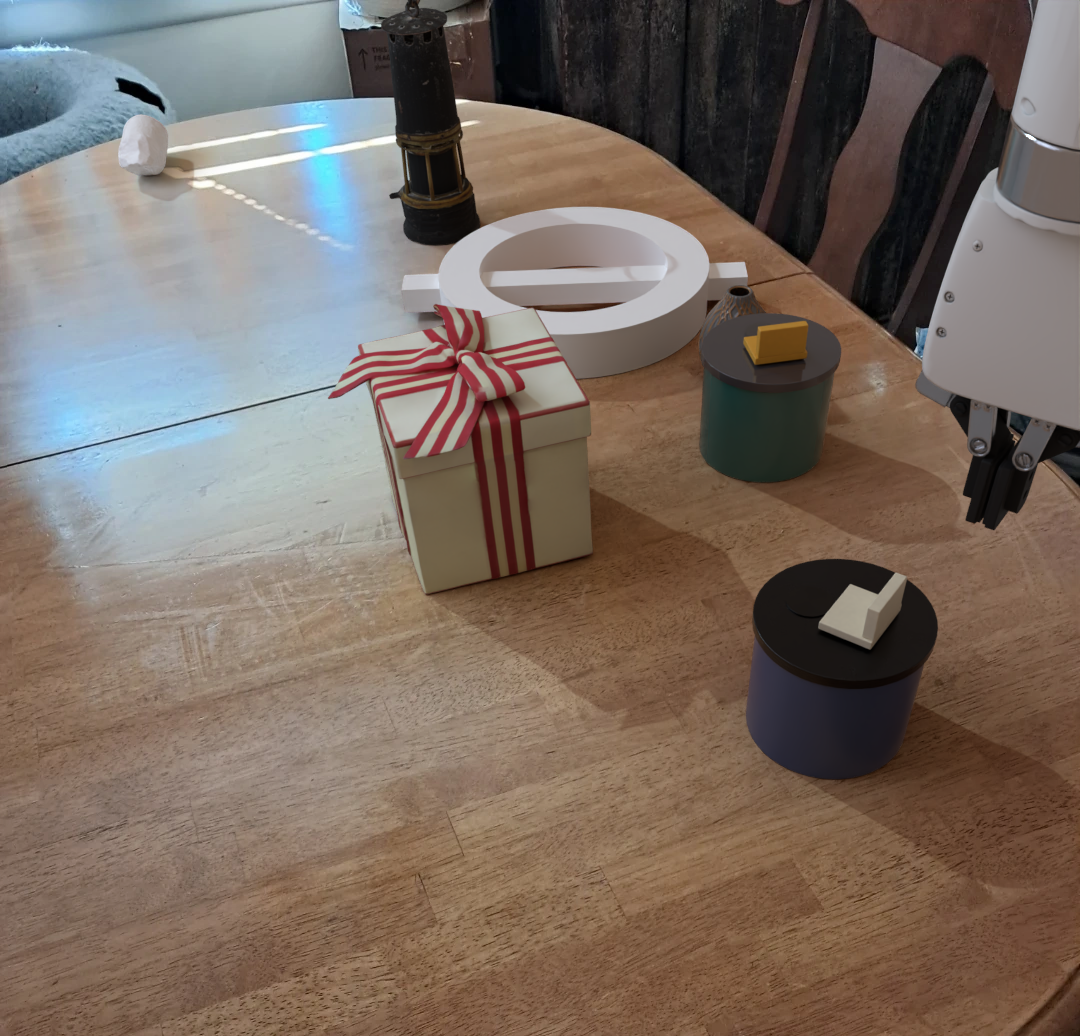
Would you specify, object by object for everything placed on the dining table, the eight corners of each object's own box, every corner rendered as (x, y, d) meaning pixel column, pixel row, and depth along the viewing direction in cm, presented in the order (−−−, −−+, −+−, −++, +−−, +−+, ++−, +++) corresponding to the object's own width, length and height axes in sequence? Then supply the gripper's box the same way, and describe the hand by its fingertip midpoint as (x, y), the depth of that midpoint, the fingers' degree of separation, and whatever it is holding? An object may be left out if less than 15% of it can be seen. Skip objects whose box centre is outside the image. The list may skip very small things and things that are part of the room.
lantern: (388, 229, 138) (344, -65, 116) (447, 204, 142) (415, -85, 120) (435, 252, 133) (399, -50, 111) (495, 226, 137) (471, -72, 115)
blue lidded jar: (936, 702, 82) (967, 597, 74) (864, 809, 76) (890, 706, 68) (789, 641, 87) (805, 536, 79) (710, 736, 81) (719, 633, 73)
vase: (688, 363, 114) (693, 278, 108) (756, 353, 115) (764, 268, 108) (708, 400, 109) (713, 314, 103) (778, 389, 110) (788, 303, 104)
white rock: (123, 194, 149) (109, 149, 145) (129, 158, 157) (116, 115, 153) (170, 189, 150) (157, 144, 146) (173, 153, 158) (161, 109, 154)
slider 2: (900, 610, 74) (909, 574, 71) (870, 650, 71) (878, 614, 69) (848, 590, 75) (855, 554, 73) (817, 628, 73) (823, 593, 71)
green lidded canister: (843, 475, 100) (861, 373, 93) (714, 492, 100) (721, 391, 92) (803, 403, 108) (816, 304, 101) (682, 419, 107) (686, 321, 100)
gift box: (344, 507, 101) (304, 324, 88) (540, 454, 105) (528, 272, 92) (398, 627, 90) (361, 439, 77) (615, 564, 94) (613, 374, 81)
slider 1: (806, 358, 95) (811, 324, 93) (754, 365, 95) (758, 331, 92) (793, 337, 97) (797, 303, 95) (742, 343, 97) (745, 310, 95)
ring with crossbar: (390, 315, 124) (383, 272, 120) (574, 226, 136) (573, 185, 133) (574, 411, 109) (572, 366, 106) (761, 301, 122) (765, 258, 118)
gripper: (1303, 169, 48) (1152, 523, 62) (959, 105, 54) (890, 438, 68) (1256, 240, 44) (1106, 601, 58) (890, 162, 51) (832, 503, 64)
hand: (989, 512), depth 63 cm, fingers closed
